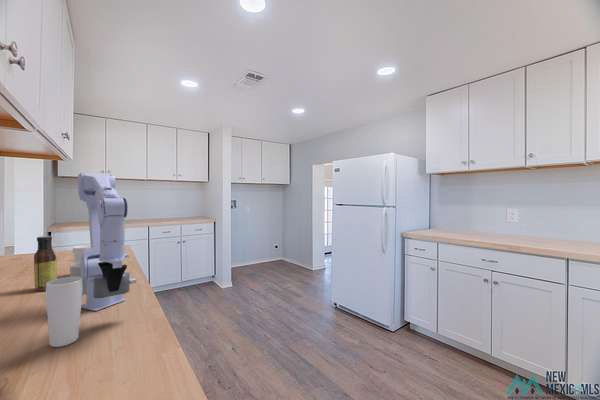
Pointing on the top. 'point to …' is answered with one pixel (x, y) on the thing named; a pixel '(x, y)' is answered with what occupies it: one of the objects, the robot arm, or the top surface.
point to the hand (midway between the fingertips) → (112, 288)
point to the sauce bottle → (44, 263)
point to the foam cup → (80, 251)
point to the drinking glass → (64, 309)
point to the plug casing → (102, 287)
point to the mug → (78, 274)
